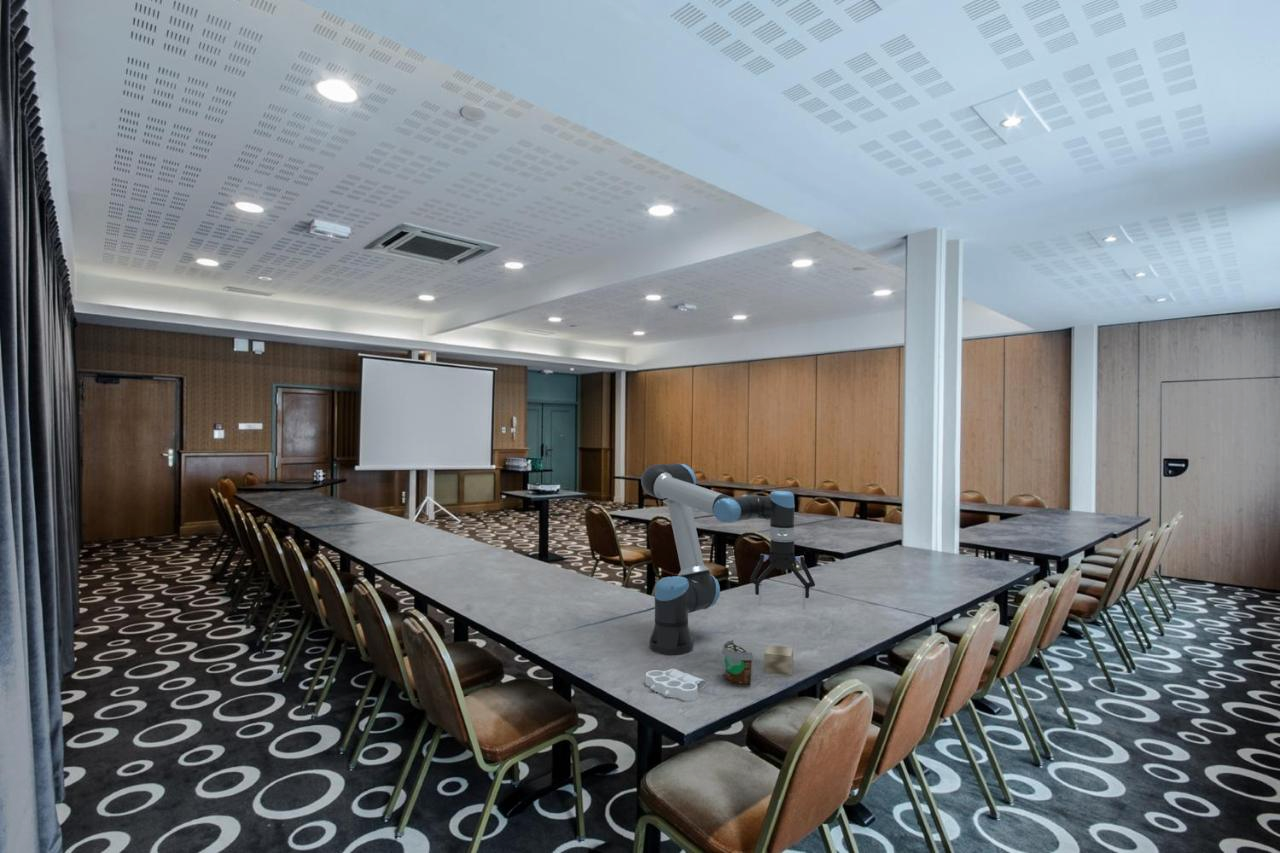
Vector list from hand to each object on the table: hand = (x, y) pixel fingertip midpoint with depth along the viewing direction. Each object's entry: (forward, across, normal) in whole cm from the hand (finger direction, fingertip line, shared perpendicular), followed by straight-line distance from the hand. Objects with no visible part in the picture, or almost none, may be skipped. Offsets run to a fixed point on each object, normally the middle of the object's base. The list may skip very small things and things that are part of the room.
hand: (781, 606), depth 194 cm
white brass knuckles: (+20, -30, -25) cm, 44 cm away
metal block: (+19, -1, -2) cm, 19 cm away
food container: (+19, -14, -15) cm, 28 cm away
